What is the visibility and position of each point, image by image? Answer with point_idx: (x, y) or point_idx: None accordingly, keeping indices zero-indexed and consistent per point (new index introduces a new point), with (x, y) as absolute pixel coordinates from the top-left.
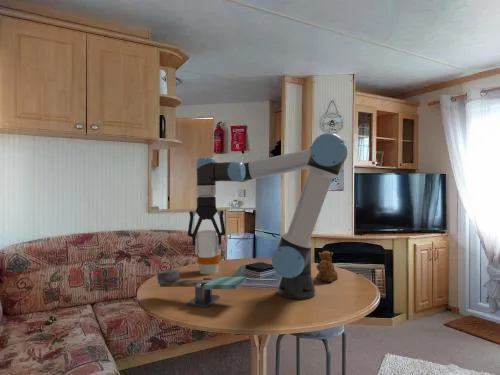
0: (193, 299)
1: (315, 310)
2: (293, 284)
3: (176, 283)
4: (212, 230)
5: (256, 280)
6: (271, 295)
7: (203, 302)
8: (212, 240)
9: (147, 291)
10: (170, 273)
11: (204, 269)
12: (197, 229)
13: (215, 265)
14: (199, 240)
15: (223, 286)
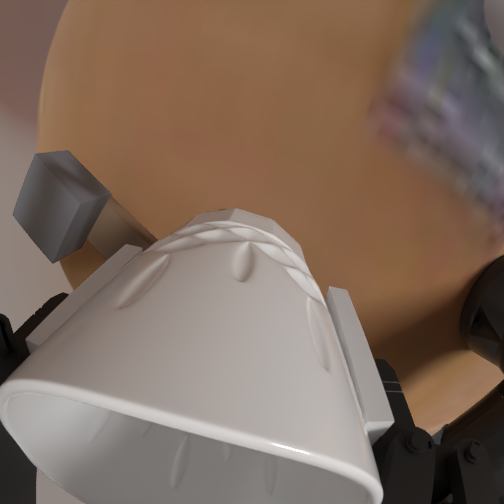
0: None
1: (435, 402)
2: (485, 358)
3: (98, 249)
4: (362, 484)
5: (500, 107)
6: (449, 295)
7: None
8: (252, 465)
9: (54, 89)
10: (53, 261)
11: None
12: (25, 496)
13: None
14: (106, 419)
15: None
